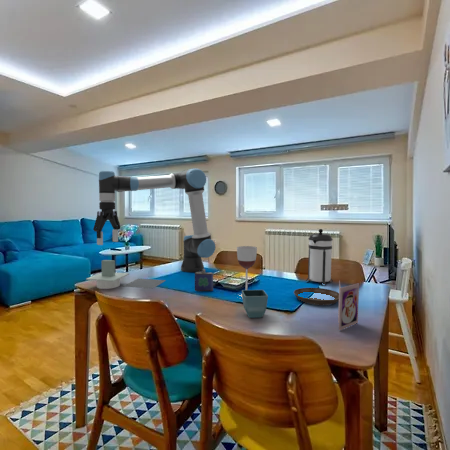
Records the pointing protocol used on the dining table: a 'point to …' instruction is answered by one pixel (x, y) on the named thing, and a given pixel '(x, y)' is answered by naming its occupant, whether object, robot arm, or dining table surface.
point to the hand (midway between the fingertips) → (108, 243)
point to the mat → (144, 283)
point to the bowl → (108, 284)
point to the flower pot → (254, 302)
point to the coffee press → (320, 257)
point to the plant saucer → (315, 300)
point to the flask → (203, 281)
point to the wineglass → (246, 258)
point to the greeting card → (348, 305)
